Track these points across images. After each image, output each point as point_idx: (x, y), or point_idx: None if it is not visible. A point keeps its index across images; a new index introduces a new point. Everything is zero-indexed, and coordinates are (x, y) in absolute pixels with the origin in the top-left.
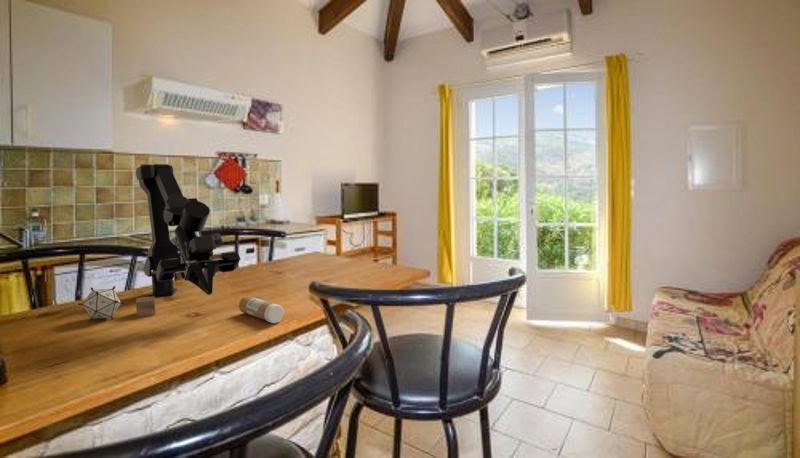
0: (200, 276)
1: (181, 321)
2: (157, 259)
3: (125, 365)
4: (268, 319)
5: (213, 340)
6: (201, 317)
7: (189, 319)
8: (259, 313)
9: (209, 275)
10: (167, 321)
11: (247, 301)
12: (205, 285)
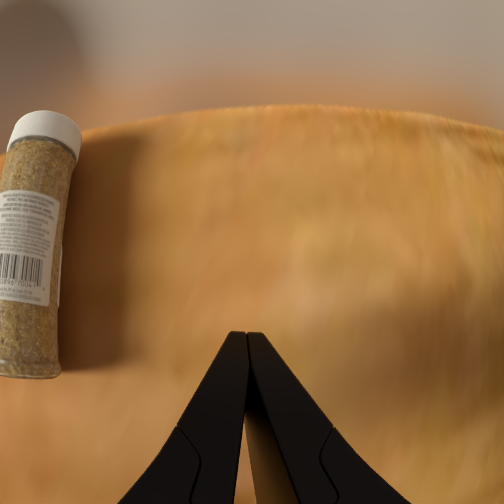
0: (352, 479)
1: None
2: None
3: (490, 190)
4: (81, 139)
5: (303, 162)
6: None
7: None
8: (65, 189)
9: (209, 478)
10: None
11: (22, 311)
12: (291, 379)
